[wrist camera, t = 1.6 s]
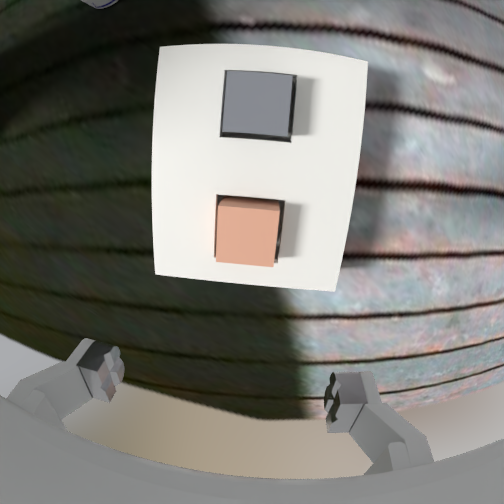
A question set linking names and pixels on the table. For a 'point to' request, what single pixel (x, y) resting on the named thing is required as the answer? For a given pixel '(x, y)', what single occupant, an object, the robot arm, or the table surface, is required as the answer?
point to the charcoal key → (257, 103)
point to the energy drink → (100, 3)
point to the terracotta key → (247, 230)
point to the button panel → (255, 162)
